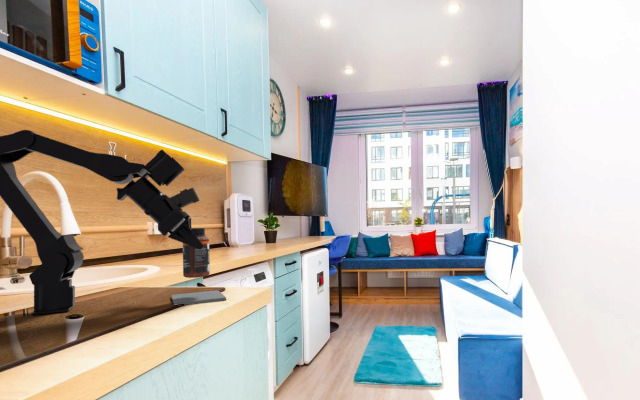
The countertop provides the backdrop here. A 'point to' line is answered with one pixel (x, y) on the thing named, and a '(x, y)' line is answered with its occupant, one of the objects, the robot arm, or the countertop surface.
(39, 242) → the robot arm
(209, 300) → the charcoal mat
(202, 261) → the supplement bottle
